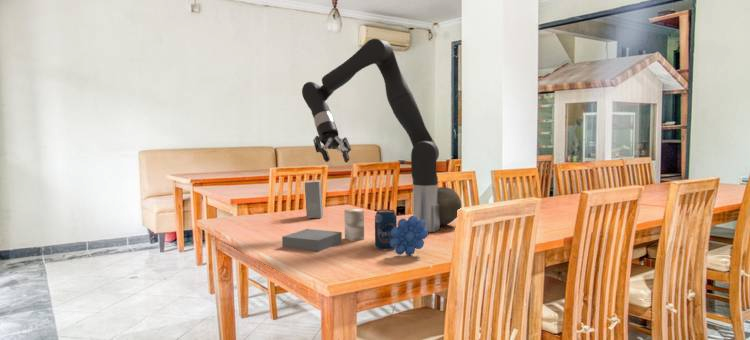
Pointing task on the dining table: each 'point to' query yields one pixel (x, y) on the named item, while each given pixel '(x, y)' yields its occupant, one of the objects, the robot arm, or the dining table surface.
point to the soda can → (384, 228)
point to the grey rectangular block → (313, 199)
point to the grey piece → (354, 224)
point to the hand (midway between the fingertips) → (337, 161)
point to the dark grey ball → (448, 205)
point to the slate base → (312, 240)
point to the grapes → (408, 235)
